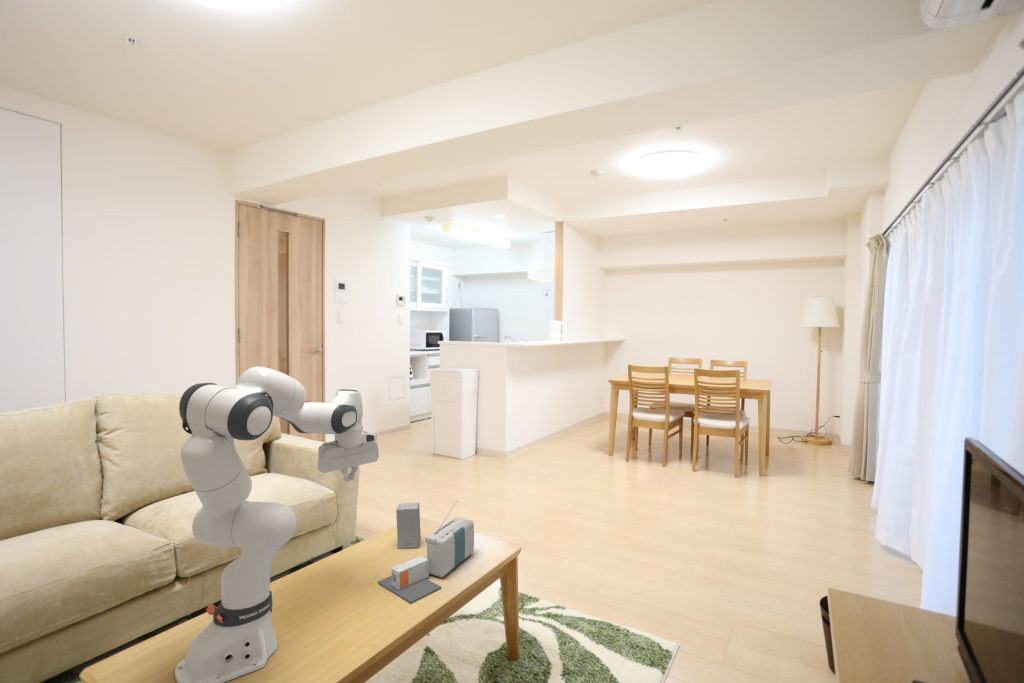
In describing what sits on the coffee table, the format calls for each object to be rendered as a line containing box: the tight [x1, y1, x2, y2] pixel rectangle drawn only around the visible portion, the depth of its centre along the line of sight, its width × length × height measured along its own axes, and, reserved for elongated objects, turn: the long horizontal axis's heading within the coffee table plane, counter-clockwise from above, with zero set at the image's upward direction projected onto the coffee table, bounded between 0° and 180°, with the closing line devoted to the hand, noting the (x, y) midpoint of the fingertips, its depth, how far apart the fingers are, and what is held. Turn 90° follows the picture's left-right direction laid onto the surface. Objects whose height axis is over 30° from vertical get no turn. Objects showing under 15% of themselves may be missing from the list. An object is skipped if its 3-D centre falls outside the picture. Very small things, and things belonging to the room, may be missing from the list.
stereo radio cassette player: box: [424, 500, 475, 579], centre depth 175 cm, size 21×8×20 cm, turn 154°
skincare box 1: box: [395, 502, 422, 550], centre depth 191 cm, size 8×7×16 cm
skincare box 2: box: [391, 555, 430, 590], centre depth 163 cm, size 6×4×12 cm
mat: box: [377, 575, 442, 605], centre depth 161 cm, size 12×18×1 cm, turn 48°
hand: (349, 480), depth 162 cm, fingers closed
